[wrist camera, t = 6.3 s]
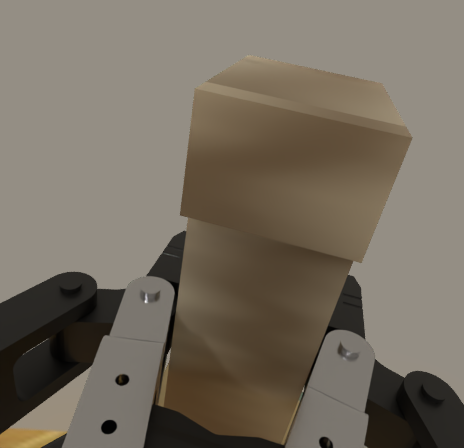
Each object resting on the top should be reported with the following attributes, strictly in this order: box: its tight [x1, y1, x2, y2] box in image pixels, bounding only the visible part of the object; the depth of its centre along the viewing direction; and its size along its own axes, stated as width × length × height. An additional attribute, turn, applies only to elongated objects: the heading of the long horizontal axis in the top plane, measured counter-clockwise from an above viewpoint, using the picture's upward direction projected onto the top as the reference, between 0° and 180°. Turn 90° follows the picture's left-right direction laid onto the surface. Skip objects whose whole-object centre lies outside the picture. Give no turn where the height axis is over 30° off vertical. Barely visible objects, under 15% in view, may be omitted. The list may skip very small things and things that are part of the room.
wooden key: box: [164, 55, 412, 444], centre depth 12 cm, size 4×5×15 cm
